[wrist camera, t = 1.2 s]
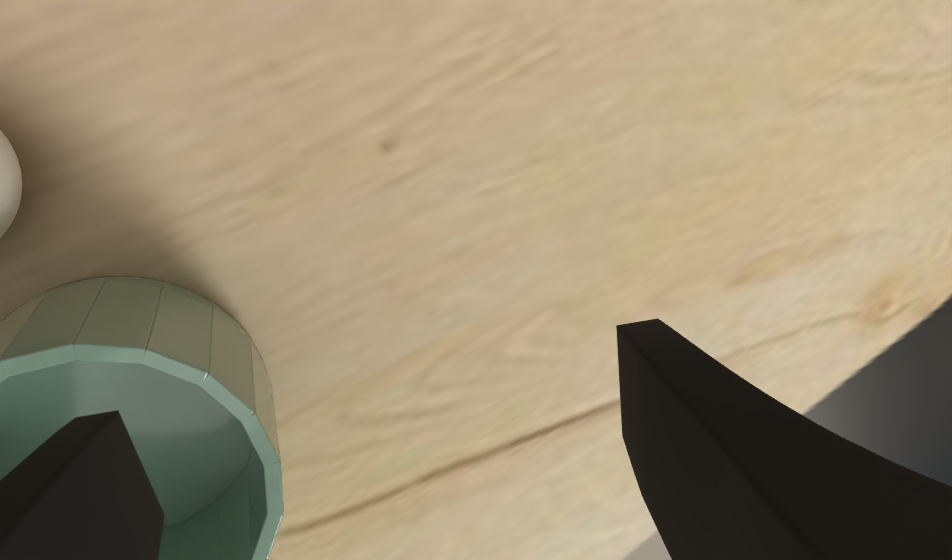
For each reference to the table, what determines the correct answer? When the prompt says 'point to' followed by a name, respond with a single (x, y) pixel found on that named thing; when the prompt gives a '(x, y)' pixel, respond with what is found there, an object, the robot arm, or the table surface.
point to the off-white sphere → (8, 184)
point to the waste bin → (153, 403)
